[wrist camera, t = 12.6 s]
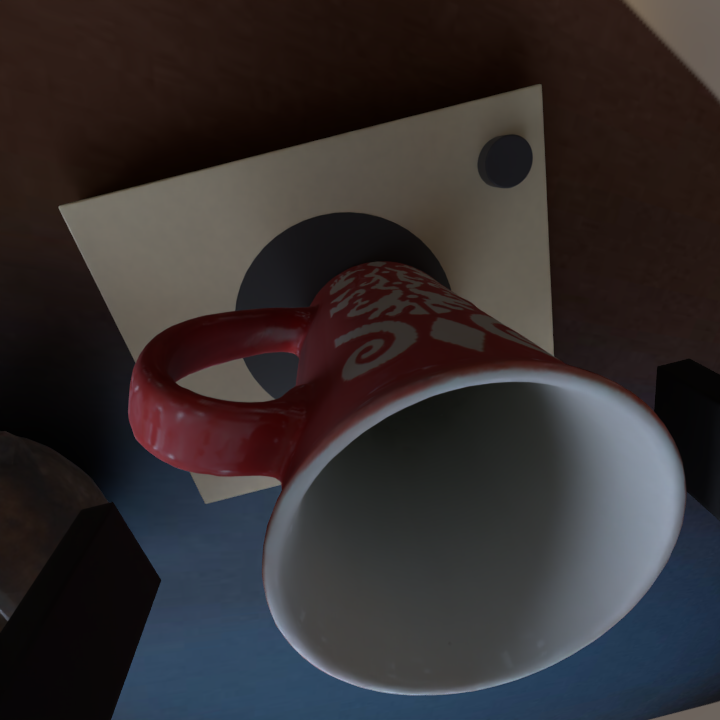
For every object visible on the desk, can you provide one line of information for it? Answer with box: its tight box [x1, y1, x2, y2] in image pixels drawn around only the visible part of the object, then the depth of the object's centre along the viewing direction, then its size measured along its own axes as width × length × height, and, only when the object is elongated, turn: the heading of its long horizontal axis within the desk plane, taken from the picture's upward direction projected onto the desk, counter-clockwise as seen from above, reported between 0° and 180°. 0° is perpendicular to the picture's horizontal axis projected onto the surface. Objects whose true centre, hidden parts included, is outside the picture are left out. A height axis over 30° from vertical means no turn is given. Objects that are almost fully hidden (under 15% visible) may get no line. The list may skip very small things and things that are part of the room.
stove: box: [59, 84, 554, 504], centre depth 22 cm, size 20×16×3 cm
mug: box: [128, 261, 687, 695], centre depth 15 cm, size 13×9×14 cm
